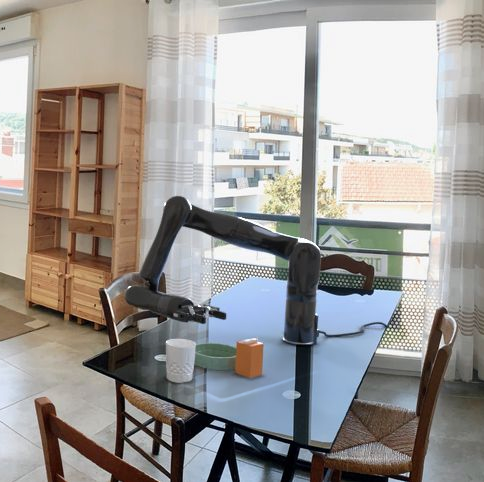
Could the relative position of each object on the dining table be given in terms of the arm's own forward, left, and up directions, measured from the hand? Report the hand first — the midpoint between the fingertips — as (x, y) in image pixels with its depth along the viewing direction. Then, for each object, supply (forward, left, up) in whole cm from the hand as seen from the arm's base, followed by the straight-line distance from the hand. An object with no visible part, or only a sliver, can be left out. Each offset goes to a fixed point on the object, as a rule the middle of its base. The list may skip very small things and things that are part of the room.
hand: (215, 318), depth 178 cm
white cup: (+14, +13, -13) cm, 23 cm away
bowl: (0, +1, -13) cm, 13 cm away
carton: (-6, +11, -13) cm, 18 cm away
